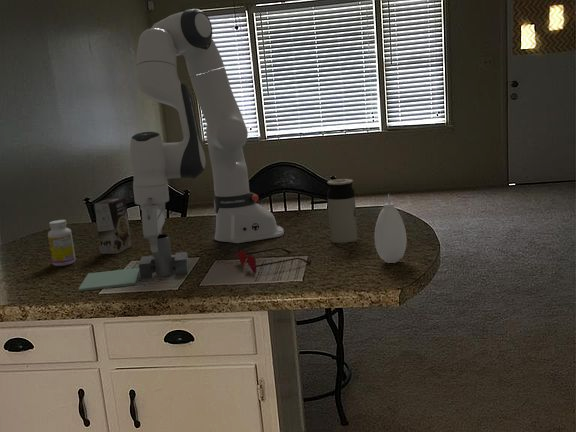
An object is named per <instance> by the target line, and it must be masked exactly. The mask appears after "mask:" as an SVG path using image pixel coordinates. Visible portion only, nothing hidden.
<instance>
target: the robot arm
mask: <svg viewBox="0 0 576 432" xmlns="http://www.w3.org/2000/svg"><path fill="white" fill-rule="evenodd" d="M136 48H137V51H136V58H135V59H136V60H135V61H136V62H135V63H136V64H135V71H136V72H135V75H136V83H137V86H138V90H140V91H141V93H142V94H143V95H145V96H146V97H148V98H149V99H151V100H153V101H155V102H157V103H161V104H162V105H166V106H170V107H172V108H174V109H175V110H176V111H177V112H178V114H179V120H180V125H181V130H182V136H183V139H182V141H178V142H163V139H162V135H161V134H160V132H156V131H143V132H139V133H135V134H134V135H133V136H132V137H131V138H130V146H129V147H130V148H129V155H130V156H129V158H130V169H131V172H132V174H133V175H132V176H133V181H132V190H133V198H134V204H135V205H136V206H138V205H139V206H140V207H139V208H140V211H141V224H142V234H143V238H144V239H148V243H149V246H150V247H149V248H150V252H151V253H153V252H158V241H157V237H158V236H159V235H161V234H162V231H163V230H162V229H163V226H164V224H165V222H166V203H168V202H169V201H170V195H169V193H170V191H169V183H168V180H167V179H191V180H192V179H196V178H198V177H199V176H200V175H201V174H202V173H203V172H204V171H205V169H206V155H205V151H204V149H203V145H202V141H201V137H200V132H199V127H198V121H197V117H196V113H195V107H194V103H193V99H192V96H191V92H190V90H189V88H188V87H187V85H186V84H184V83H182V82H181V80H180V78H179V75H178V68H177V67H178V66H177V65H178V64H177V63H178V62H177V57H179V56H182V57H184V59H185V64H186V68H187V73H188V76H189V79H190V82H191V85H192V88H193V89H192V90H193V91H194V94H195V98H196V101H197V103H198V105H199V108H200V111H201V112H202V115H203V117H204V121H205V122H206V128H205V135H206V142H207V143H206V144H207V147H208V148H207V149H208V154H209V161H210V165H211V169H212V170H211V171H212V172H211V173H212V178H213V179H212V180H213V190H214V195H213V206H214V211H215V213H216V214H215V215H216V216H215V217H216V218H215V220H216V221H215V222H216V223H215V233H214V240H215V241H218V242H222V243H223V242H226V243H233V244H240V243H246V242H253V241H260V240H267V239H272V238H279V237H280V238H281V237H282V236H283V235H284V234H285V231H284V228H283V227H281V226H280V225H277V221H276V219H275V218H276V217H275V216H274V214H273V213H272V212H271V211H269V210H268V209H266V208H265V207H263V206H262V205H260V204H258V203H257V202H258V201H259V195H258V194H256V193H254V192H252V191H250V182H249V174H248V166H247V162H246V159H245V154H244V149H243V147H244V146H245V145H246V142H247V141H248V138H249V137H248V136H249V135H248V134H249V133H248V128H247V125H246V123H245V120H244V118H243V115H242V112H241V109H240V108H239V105H238V102H237V101H236V98H235V95H234V94H233V90H232V87H231V84H230V80H229V77H228V75H227V71H226V68H225V64H224V61H223V58H222V55H221V53H220V51H219V49H218V47H217V45H216V43H215V41H214V39H213V27H212V21H211V20H210V18H209V16H208V15H207V14H206V13H205V12H204V11H203V10H201V9H199V8H190V9H186V10H184V11H180V12H176V13H173V14H170V15H169V16H167V17H165V18H163V19H161V20H159V21H158V22H154V23H152V24H150V25H149V26H148V27H147V28H146V29H145V30H144V31H142V33H141V34H140V35H139V39H138V43H137V47H136Z"/></svg>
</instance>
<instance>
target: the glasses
mask: <svg viewBox="0 0 576 432" xmlns="http://www.w3.org/2000/svg"><path fill="white" fill-rule="evenodd" d="M275 250H282V251H284V252H285V253H287V254H289V253H291V254H292V252H291V251H290V250H287V249H286V248H285V249H284V248H282V247H277V248H276V247H275V248H274V247H273V248H270V249H264V250H263V249H262V250H260V251H253V252H248V251H247V250H245V249H244V248H240V249H239V251H238V252H237V254H236V255H235V257H236V258H238V260H239V262H240V264H241V266H245V263H247V265H248V266H249V267H250V269H251V271H252V273H253V274H254V273H255V274H256V273H257V268H259V267H263V266H268V265H272V264H273V265H274V264H278V263H279V264H280V263H284V262H288V261H294V260H295V261H296V260H300V261H303V262H304V263H306V264H308V265H312V264H311V263H312V262H310V261H308V260H306V259H304V258H301V257H294V258H289V259H283V260H279V261H273V262H267V263H261V264H257V259H256V258H255V256H254V255H253V254H259V253H264V252H270V251H275Z"/></svg>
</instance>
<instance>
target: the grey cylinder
mask: <svg viewBox="0 0 576 432" xmlns="http://www.w3.org/2000/svg"><path fill="white" fill-rule="evenodd" d="M157 241H158V252H152V254H153V257H154V262H155V270H154V271H155V274H156V275H155V276H157V277H166V276H170V275H173V274H174V267H173V265H172V257H171V255H172V250H171V242H170V241H171V240H170V235H169V234H166V233H165V234H161V235H159V236H158V237H157Z"/></svg>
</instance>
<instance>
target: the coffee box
mask: <svg viewBox="0 0 576 432" xmlns="http://www.w3.org/2000/svg"><path fill="white" fill-rule="evenodd" d="M93 205H94V210H95V211H94V212H95V218H96V226H97V233H98V239H99V240H98V242H99V247H100V248H99V249H100V254H101V255H104V254H107V255H110V254H120V253H122V252H124V251H126V250H127V249H129V248H131V247H132V241H131V240H132V238H131V233H130V232H131V231H130V226H129V225H130V224H129V217H128V216H129V215H128V210H127V209H128V208H127V203H126V197H115V198H114V197H112V198H107V199H103V200H100V201H98V202H95V203H94V204H93Z"/></svg>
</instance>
